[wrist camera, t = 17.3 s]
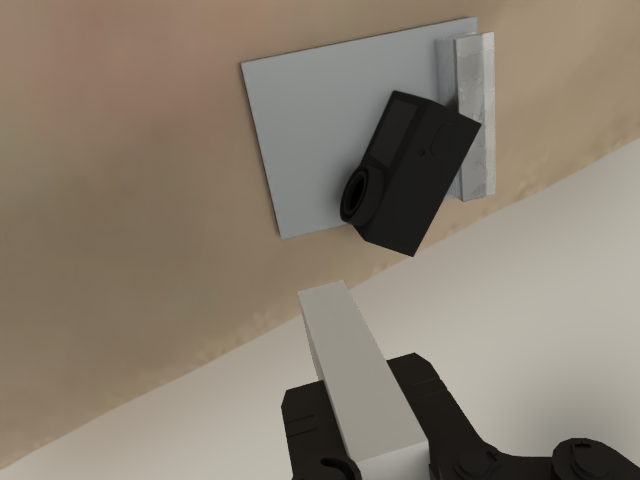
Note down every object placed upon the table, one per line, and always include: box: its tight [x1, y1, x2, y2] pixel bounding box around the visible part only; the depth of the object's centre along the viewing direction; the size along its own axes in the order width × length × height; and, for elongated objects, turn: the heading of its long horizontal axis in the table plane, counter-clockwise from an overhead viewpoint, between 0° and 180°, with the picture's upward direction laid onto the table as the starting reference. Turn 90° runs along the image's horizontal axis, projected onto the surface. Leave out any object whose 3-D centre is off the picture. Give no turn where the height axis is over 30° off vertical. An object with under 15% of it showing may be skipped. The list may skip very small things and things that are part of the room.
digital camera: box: [340, 90, 482, 257], centre depth 34 cm, size 10×5×7 cm, turn 157°
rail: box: [434, 32, 496, 202], centre depth 36 cm, size 3×12×4 cm, turn 10°
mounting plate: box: [240, 16, 478, 240], centre depth 37 cm, size 18×14×2 cm
